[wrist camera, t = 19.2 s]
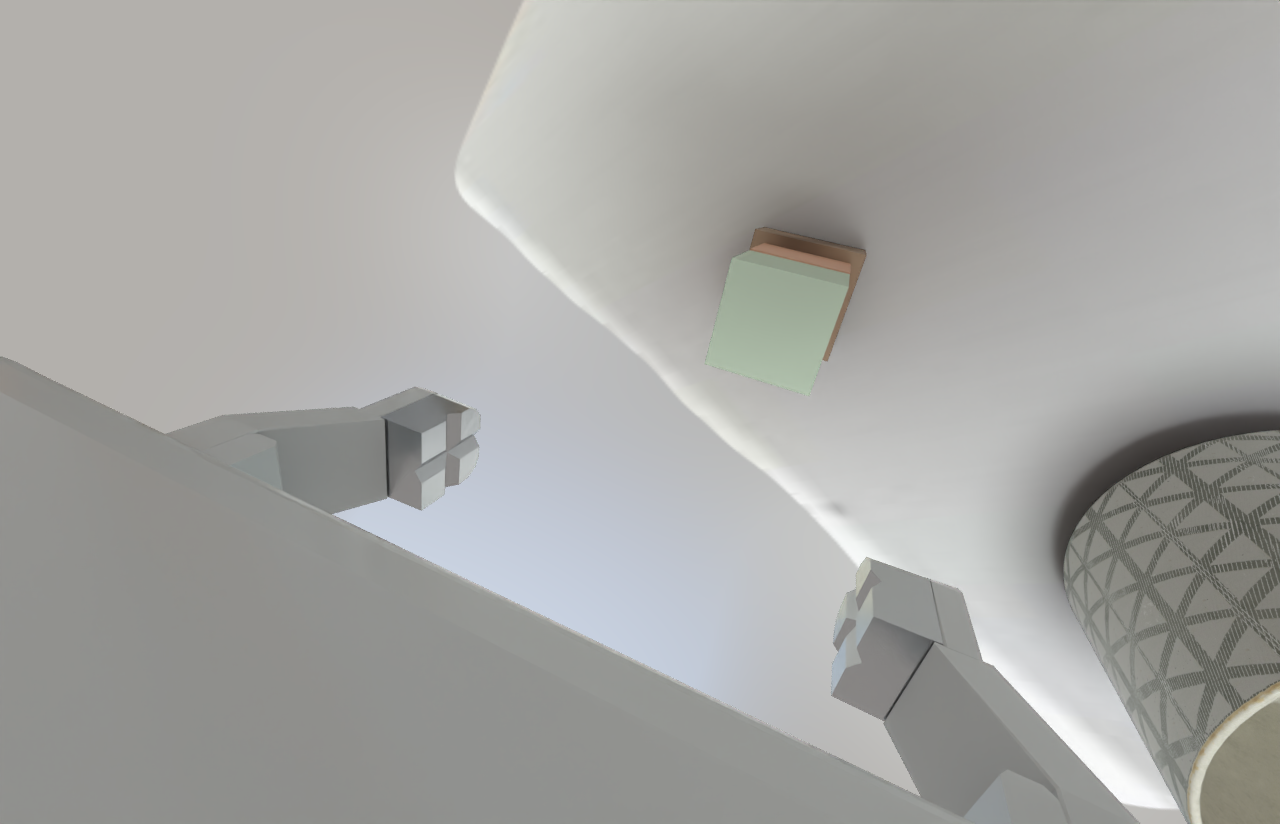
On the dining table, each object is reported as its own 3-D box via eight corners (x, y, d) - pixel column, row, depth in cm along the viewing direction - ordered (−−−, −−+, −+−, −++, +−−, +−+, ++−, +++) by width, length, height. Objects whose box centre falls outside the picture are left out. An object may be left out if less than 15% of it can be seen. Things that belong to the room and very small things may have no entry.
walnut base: (865, 250, 35) (866, 255, 31) (829, 347, 38) (827, 361, 34) (764, 227, 37) (755, 229, 33) (738, 321, 40) (727, 332, 36)
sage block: (849, 274, 27) (848, 286, 23) (815, 368, 30) (809, 396, 26) (750, 250, 29) (731, 257, 25) (725, 342, 31) (704, 363, 27)
